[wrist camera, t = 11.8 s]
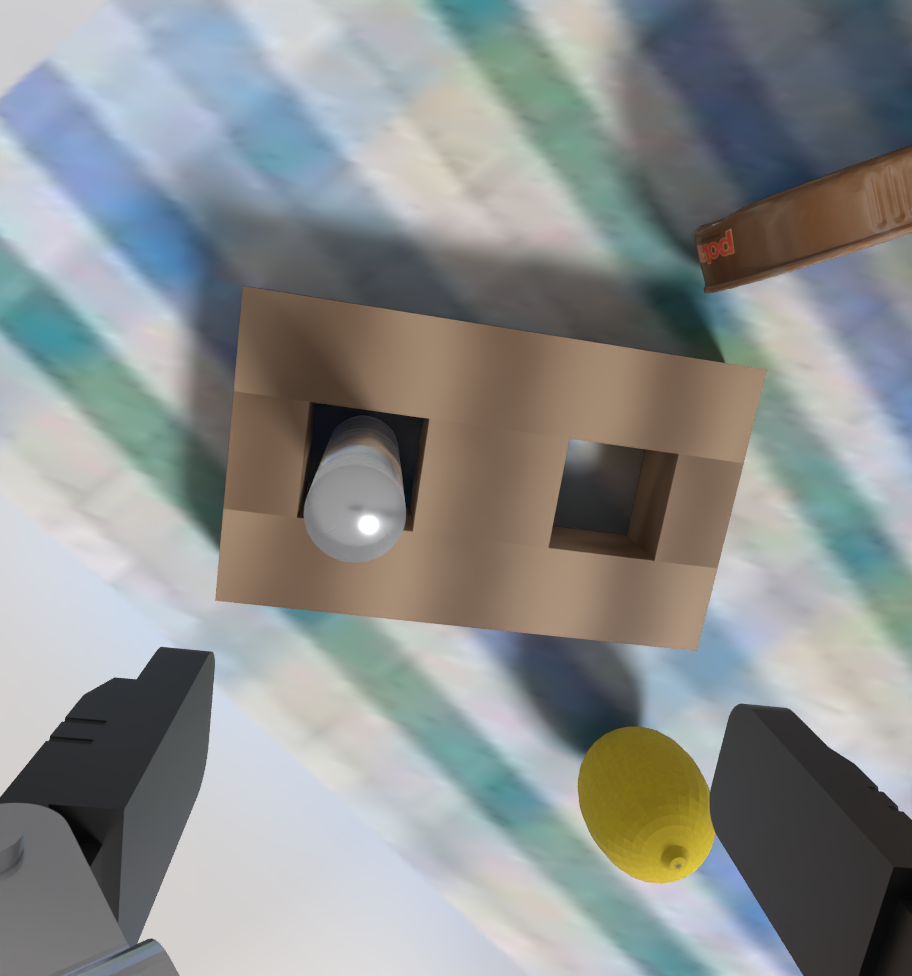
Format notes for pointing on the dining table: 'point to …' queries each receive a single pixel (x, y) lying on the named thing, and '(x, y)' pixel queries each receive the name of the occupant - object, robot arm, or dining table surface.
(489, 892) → the dining table surface
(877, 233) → the tin
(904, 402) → the dining table surface
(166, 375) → the dining table surface
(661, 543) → the hole block
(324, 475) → the peg
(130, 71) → the dining table surface
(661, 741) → the lemon
